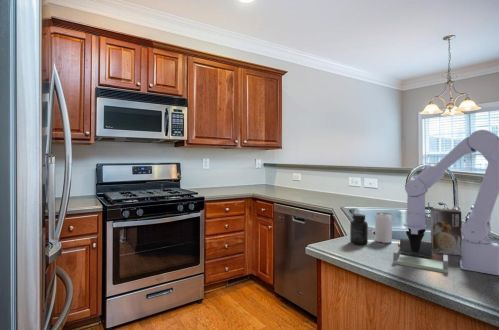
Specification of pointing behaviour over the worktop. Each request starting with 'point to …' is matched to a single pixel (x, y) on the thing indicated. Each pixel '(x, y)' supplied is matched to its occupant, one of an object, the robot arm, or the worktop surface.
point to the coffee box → (446, 231)
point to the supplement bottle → (359, 230)
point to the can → (383, 227)
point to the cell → (424, 249)
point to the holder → (421, 262)
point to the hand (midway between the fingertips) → (415, 249)
